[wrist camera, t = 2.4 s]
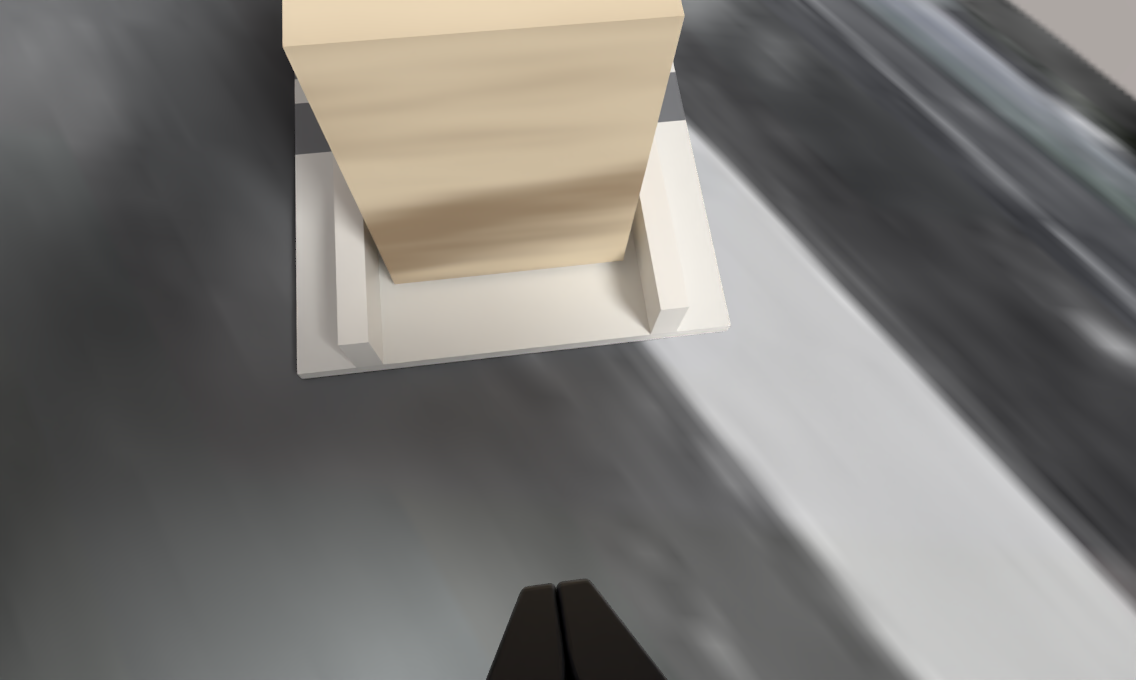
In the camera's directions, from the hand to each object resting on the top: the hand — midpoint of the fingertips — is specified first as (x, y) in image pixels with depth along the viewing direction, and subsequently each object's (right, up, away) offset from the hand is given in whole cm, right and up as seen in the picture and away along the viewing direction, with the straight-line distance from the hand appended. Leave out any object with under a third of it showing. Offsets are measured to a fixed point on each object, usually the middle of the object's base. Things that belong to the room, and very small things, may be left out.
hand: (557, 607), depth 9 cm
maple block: (-2, +8, +14) cm, 16 cm away
